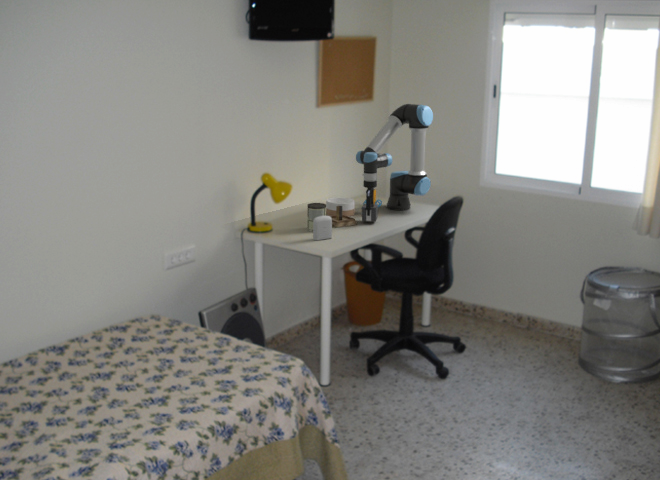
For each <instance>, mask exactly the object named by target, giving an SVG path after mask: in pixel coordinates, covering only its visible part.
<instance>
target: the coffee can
mask: <svg viewBox="0 0 660 480" xmlns="http://www.w3.org/2000/svg"><path fill="white" fill-rule="evenodd" d="M306 206H307V231H308V232H312V233H313V220H314V218H316V217H319V216H327V214H326V203H323V202H311V203H308V204H307V205H306Z"/></svg>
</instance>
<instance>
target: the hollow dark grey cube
mask: <svg viewBox="0 0 660 480" xmlns="http://www.w3.org/2000/svg"><path fill="white" fill-rule="evenodd" d="M378 205H379V204H377V205H376V204H371V221H370V222H374V223H375V222H376V221H377V220H378V215H379V214H378V211H379V210H378V209H379V208H378ZM368 208H369V207H368ZM365 209H366V204H364V205H363V204H362V207H361V221H362V222H367V221H366V210H365Z"/></svg>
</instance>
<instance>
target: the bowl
mask: <svg viewBox="0 0 660 480" xmlns="http://www.w3.org/2000/svg"><path fill="white" fill-rule="evenodd" d="M325 201H326V202H325V204H326V216H336V206H342V215H345V216H348V217H351V216H354V215H355V208H356V207H355V206H356V205H355V204H356V203H355V202H356V201H355V199H354V198H352V197H351V198H350V197H343V196H341V197H339V196H338V197H337V196H336V197H330V198H327V199H326V200H325Z"/></svg>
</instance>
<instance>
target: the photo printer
mask: <svg viewBox="0 0 660 480" xmlns="http://www.w3.org/2000/svg"><path fill="white" fill-rule="evenodd" d="M312 234H313V235H312V237H313V241H321V240H328V239H332V238H333V226H332V218H331V217H330V216H329V215H326V216H319V217H316V218H314V220H313V232H312Z"/></svg>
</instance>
